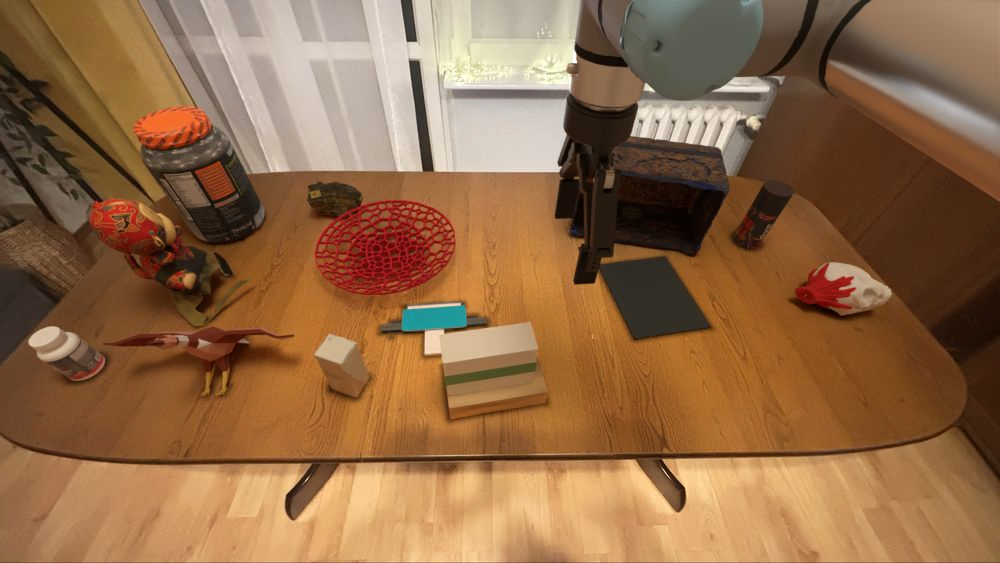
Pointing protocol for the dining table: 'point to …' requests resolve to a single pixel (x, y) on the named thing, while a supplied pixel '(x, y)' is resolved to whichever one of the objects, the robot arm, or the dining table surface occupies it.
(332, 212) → the rock
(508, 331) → the packet
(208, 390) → the decorative bird
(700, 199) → the decorative box
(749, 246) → the deodorant
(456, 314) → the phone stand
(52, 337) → the pill bottle
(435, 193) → the dining table surface
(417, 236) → the bowl
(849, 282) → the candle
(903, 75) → the robot arm
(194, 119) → the supplement tub
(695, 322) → the mat
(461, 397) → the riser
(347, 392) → the box
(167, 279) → the red patterned figure
